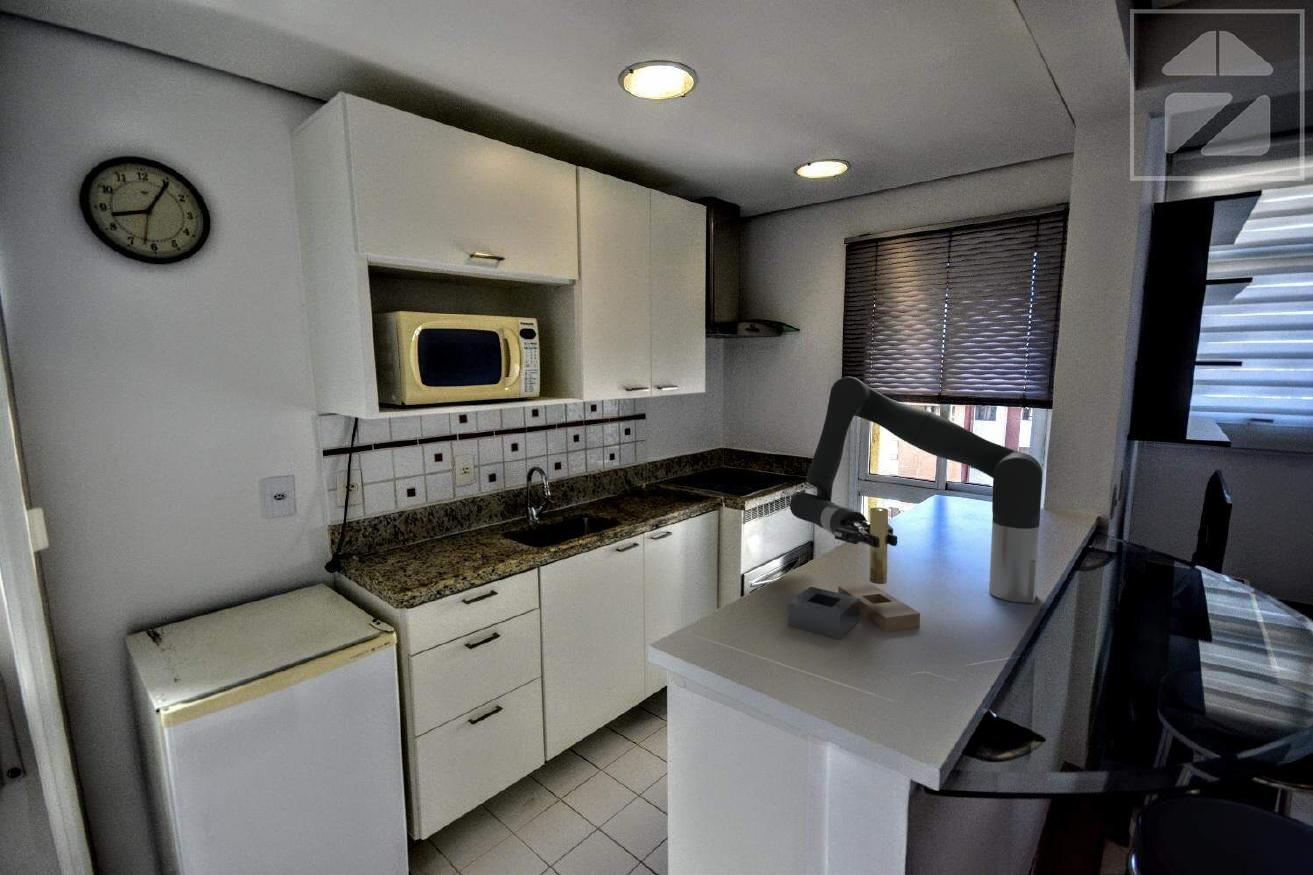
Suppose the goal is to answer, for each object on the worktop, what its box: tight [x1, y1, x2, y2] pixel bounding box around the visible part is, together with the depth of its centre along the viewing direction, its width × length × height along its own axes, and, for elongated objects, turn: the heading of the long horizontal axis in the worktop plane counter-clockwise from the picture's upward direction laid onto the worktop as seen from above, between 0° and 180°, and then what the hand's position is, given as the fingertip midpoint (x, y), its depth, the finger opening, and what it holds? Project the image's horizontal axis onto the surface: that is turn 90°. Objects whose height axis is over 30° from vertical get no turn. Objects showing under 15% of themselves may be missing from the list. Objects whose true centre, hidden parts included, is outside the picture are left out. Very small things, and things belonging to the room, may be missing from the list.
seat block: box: [787, 586, 860, 641], centre depth 121 cm, size 11×11×5 cm
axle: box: [868, 507, 889, 585], centre depth 124 cm, size 4×4×16 cm
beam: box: [837, 582, 921, 633], centre depth 126 cm, size 18×8×3 cm, turn 13°
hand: (886, 542), depth 121 cm, fingers closed on axle, 3 cm apart
